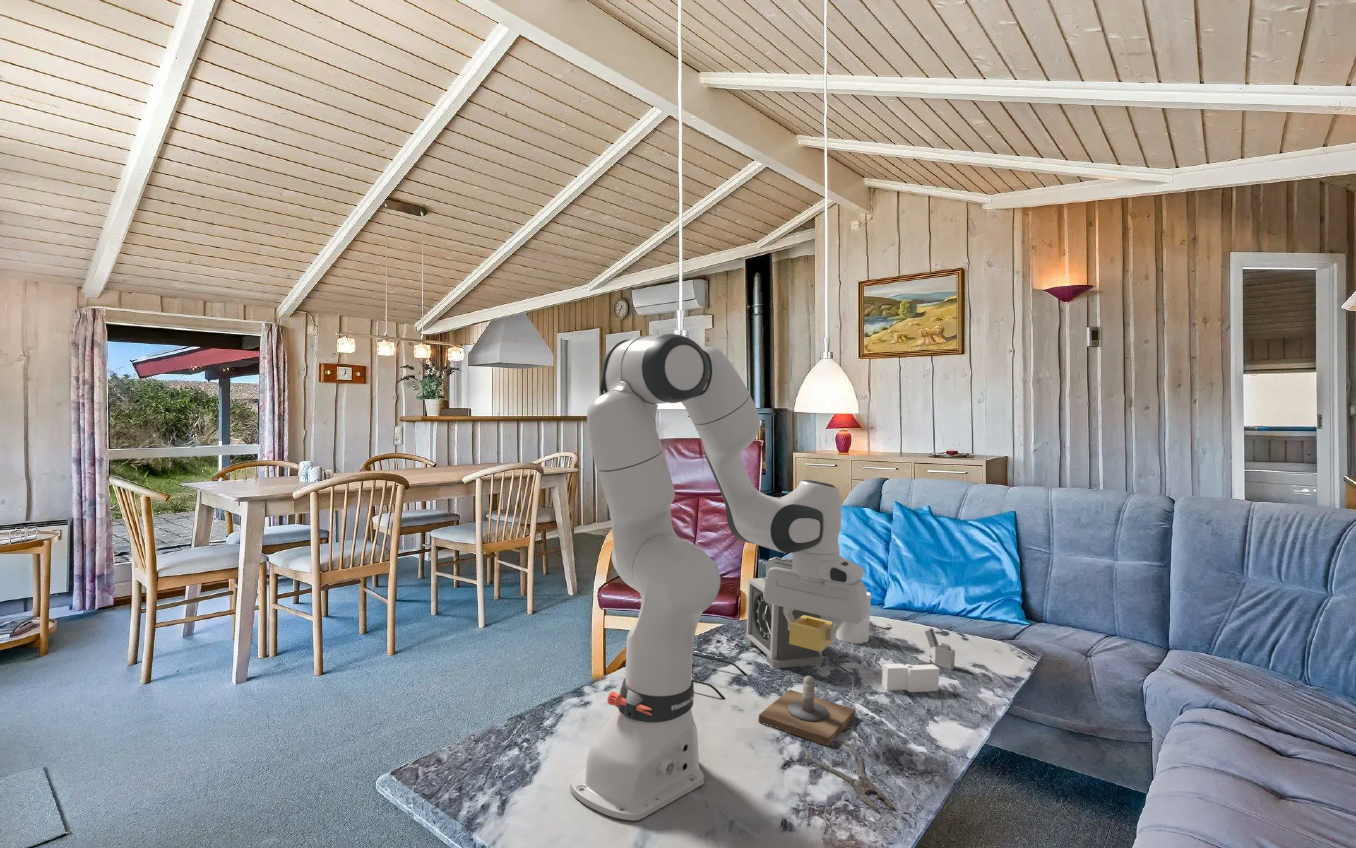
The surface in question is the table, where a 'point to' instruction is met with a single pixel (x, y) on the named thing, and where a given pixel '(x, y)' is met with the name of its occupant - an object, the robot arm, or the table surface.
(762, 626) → the alarm clock
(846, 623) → the base with upright slab
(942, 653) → the lighter
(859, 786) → the pliers
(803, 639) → the block with square hole
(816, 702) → the post stand
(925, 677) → the white stepped block
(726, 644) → the table surface
